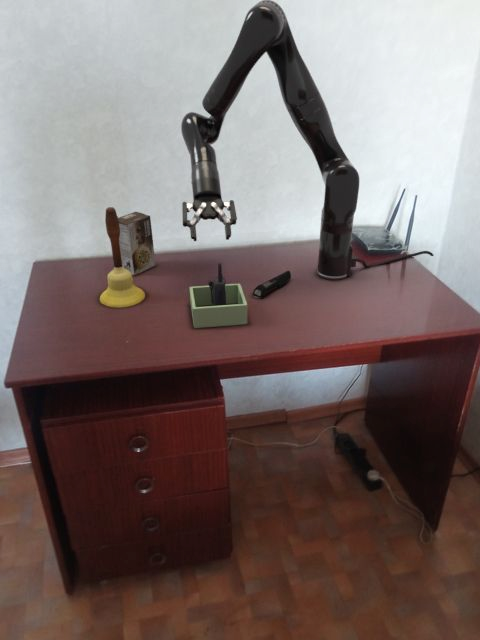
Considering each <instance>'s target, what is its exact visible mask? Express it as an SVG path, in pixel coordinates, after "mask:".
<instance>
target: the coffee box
mask: <svg viewBox="0 0 480 640" xmlns="http://www.w3.org/2000/svg"><path fill="white" fill-rule="evenodd" d="M118 220H119V226H120V236H119V244H120V252H121V259H122V266H123V268H124V269H126V270H128V271H130V272H131V274H132V276H136V275H139V274H141V273H142V272H145V271H147V270H149V269H151V268H153V267H155V266H156V257H155V248H154V240H153V230H152V220H151V215H148V214H145V213H143V212H141V211H140V212H139V211H133V212H130V213H127V214H125V215H122V216H119V217H118Z"/></svg>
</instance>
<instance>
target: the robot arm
mask: <svg viewBox="0 0 480 640" xmlns="http://www.w3.org/2000/svg"><path fill="white" fill-rule="evenodd" d="M265 53H266V55H267V56H268V58H269V60H270V62H271V64H272V66H273V69H274V71H275V75H276V79H277V82H278V87H279V90H280V91H279V92H280V94H281V98H282V101H283V104H284V106H285V109H286V111H287V113H288V115H289V116H290V119H291V121H292V123H293V125H294V126H295V127H296V130H297V132H299V134H300V136H301V138H302V139H303V140H304V142H305V143H306V144H307V145H308V147H309V149H310V150H311V152H312V154H313V157H314V158H315V161H316V163H317V166H318V169H319V172H320V175H321V178H322V182H323V184H324V188H325V189H324V197H323V198H324V199H323V206H322V208H321V214H320V228H319V229H320V231H319V242H318V243H319V244H318V257H317V268H316V274H317V275H318V276H319V277H321V278H322V279H326V280H330V281H331V280H332V281H337V280H339V281H340V280H343V279H344V280H345V279H346V278H350V277H351V269H352V268H356V267H357V262H358V263H361V264H362V265H363V267H364V268H366V269H367V268H369V269H370V268H373V267H381V266H382V265H386V264H389V263H393V262H396V261H400V260H403V259H407V258H412V257H416V256H417V257H418V256H421V255H429V256H431V257H434V253H432V252H431V251H429V250H421V251H418V252H414V253H410V254H405V255H401V256H398V257H395V258H394V257H393V258H390V259H387V260H384V261H383V260H382V261H380V262H378V263H377V262H376V263H374V264H367V263H366V261H365V260H363V259H361V258H357V257H356V256H355V254H354V253H353V252H354V246H353V245H352V237H353V229H354V228H353V226H354V219H355V213H356V211H357V207H358V199H359V190H360V174H359V172H358V170H357V168H356V167H355V166H354V164H353V163H352V162H351V161H350V159H349V158H348V157H347V155H346V153H345V151H344V149H343V148H342V147H341V144H340V142H339V141H338V139H337V137H336V133H335V130H334V127H333V123H332V119H331V117H330V113H329V110H328V108H327V106H326V103H325V101H324V98H323V97H322V94H321V92H320V90H319V88H318V86H317V84H316V82H315V80H314V78H313V76H312V74H311V72H310V70H309V68H308V66H307V64H306V63H305V61H304V59H303V57H302V55H301V53H300V51H299V49H298V46H297V44H296V40H295V38H294V36H293V32H292V29H291V27H290V24H289V21H288V18H287V15H286V13H285V11H284V9H283V8H282V7H281V6H280V5H279V3H277V2H275V1H274V0H261V1H258V2H257V3H256V4H255V5H253V6H252V7H251V8H250V9H249V10H248V11H247V12H246V15H245V17H244V20H243V24H242V25H241V28H240V31H239V34H238V36H237V38H236V41H235V43H234V46H233V48H232V49H231V52H230V54H229V55H228V58H227V59H226V61H225V62H224V63H223V65H222V67H221V69H220V70H219V72H218V73H217V74H216V77H215V78H214V80H213V81H212V82H211V84H210V86H209V88H208V90H207V91H206V93H205V95H204V96H203V98H202V101H201V105H202V108H203V109H204V111H206V112H207V113H208V115H210V116H206V115H202V114H201V113H197V112H195V111H190V112H187V113H186V114H184V116H183V118H182V120H181V124H180V129H181V135H182V136H181V137H182V139H183V141H184V144H185V146H186V150H187V151H188V154H189V158H190V167H191V168H190V169H191V174H190V175H191V176H190V178H191V179H190V180H191V189H192V199H193V200H192V201H193V202H192V203H187V201H183V202H182V203H181V206H182V209H181V210H182V213H181V214H182V226H183V227H184V228H186V227H187V228H189V233H190V239H191V240H193V242H197V238H198V237H197V228H196V226H197V224H198V223H199V222H200V221H201V219H202V220H203V221H206V220H216V219H217V220H218V221H219V222H220V223H222V224H223V225H224V233H225V234H224V235H225V241H228V240H230V238H232V237H231V236H232V225H237V220H238V215H237V212H236V211H237V209H236V205H235V201H234V199H230V200H229V201H225V202H224V201H223V199H222V198H223V197H222V189H221V180H220V179H221V177H220V172H219V169H218V161H217V160H218V159H217V153H216V149H215V147H213V146H212V145H213V144H215V143H216V142H217V141H218V140H219V137H220V134H221V132H222V127H223V125H224V121H225V118H226V116H227V113H228V112H229V110H230V108H231V107H232V105H233V104H234V103H235V101H236V99H237V97H238V96H239V93H241V91H242V88H243V86H244V84H245V82H246V80H247V79H248V76H249V74H250V73H251V71H252V70H253V68H254V67H255V65H256V64H257V63H258V62H259V60H260V59H261V58H262V57H263V56H264V55H265ZM224 208H225V209H226V210H227V211H228V212H229V214H230V215H229V216H230V218H229V217H228V216H227V215H226V213H225V212H224V211H223V210H224ZM191 210H193V212H195V213H194V215H193V216H192V218H191V219H188V213H190V212H191Z"/></svg>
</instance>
